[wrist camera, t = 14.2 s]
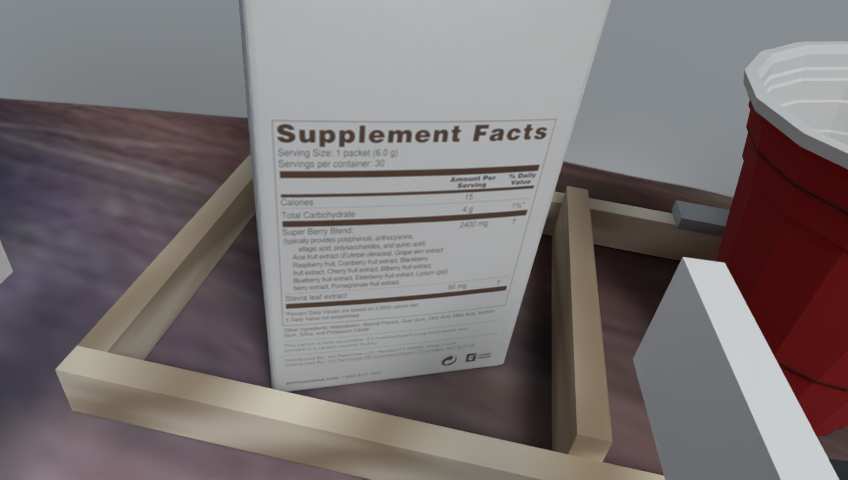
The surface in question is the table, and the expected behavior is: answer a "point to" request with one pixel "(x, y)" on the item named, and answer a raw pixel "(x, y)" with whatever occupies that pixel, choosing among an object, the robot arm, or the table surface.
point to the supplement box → (405, 174)
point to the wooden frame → (358, 428)
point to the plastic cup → (797, 221)
